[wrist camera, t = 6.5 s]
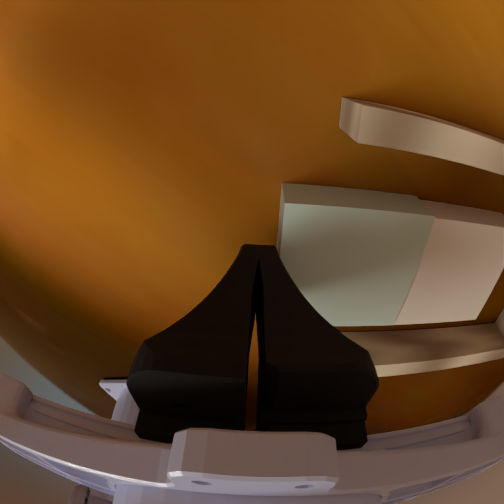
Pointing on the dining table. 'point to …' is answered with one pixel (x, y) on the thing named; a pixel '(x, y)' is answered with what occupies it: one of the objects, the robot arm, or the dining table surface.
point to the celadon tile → (352, 249)
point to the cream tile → (455, 265)
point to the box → (445, 147)
